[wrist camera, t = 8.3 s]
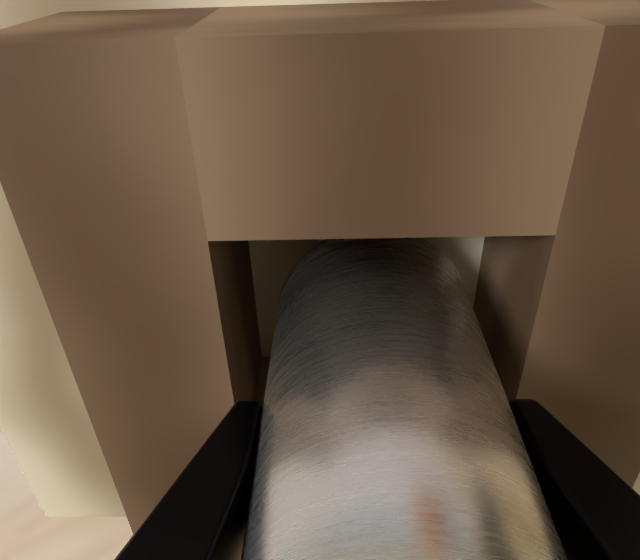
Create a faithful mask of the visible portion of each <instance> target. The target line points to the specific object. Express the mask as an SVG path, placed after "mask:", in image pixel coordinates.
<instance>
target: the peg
mask: <svg viewBox="0 0 640 560" xmlns="http://www.w3.org/2000/svg"><path fill="white" fill-rule="evenodd" d="M241 560H568V559H567V557H566V554H565V551H564V549H563V546H562V543H561V541H560V538H559V535H558V533H557V530H556V527H555V525H554V522H553V519H552V517H551V514H550V511H549V509H548V506H547V503H546V501H545V498H544V495H543V493H542V490H541V487H540V485H539V482H538V480H537V477H536V474H535V472H534V469H533V466H532V464H531V461H530V458H529V456H528V453H527V450H526V448H525V445H524V442H523V440H522V437H521V434H520V432H519V429H518V426H517V424H516V421H515V418H514V416H513V413H512V410H511V408H510V405H509V402H508V400H507V397H506V394H505V392H504V389H503V387H502V384H501V381H500V379H499V376H498V373H497V371H496V368H495V365H494V363H493V360H492V357H491V355H490V352H489V349H488V347H487V344H486V341H485V339H484V336H483V333H482V331H481V328H480V325H479V323H478V320H477V317H476V315H475V312H474V309H473V307H472V304H471V301H470V299H469V296H468V293H467V291H466V288H465V286H464V283H463V280H462V278H461V276H460V274H459V271H458V269H457V268H456V267H455V265H454V264H453V262H452V261H451V260H450V258H449V257H448V256H447V255H446V254H445V253H444V252H443V251H441V250H440V249H439V248H438V247H436V246H435V245H434V244H432V243H430V242H429V241H427V240H425V239H423V238H363V239H325V240H323V241H321V242H320V243H318V244H316V245H315V246H313V247H312V248H310V249H309V250H308V251H307V252H306V253H304V254H303V255H302V256H301V257H300V258H299V259H298V260H297V261H296V262H295V263H294V265H293V266H292V268H291V269H290V270H289V272H288V274H287V276H286V278H285V280H284V282H283V284H282V287H281V290H280V295H279V302H278V308H277V315H276V322H275V329H274V336H273V343H272V349H271V356H270V363H269V370H268V377H267V384H266V390H265V397H264V404H263V411H262V418H261V425H260V432H259V438H258V445H257V452H256V459H255V466H254V473H253V479H252V486H251V493H250V500H249V507H248V513H247V520H246V527H245V534H244V541H243V548H242V555H241Z"/></svg>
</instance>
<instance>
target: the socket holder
mask: <svg viewBox="0 0 640 560" xmlns="http://www.w3.org/2000/svg"><path fill="white" fill-rule="evenodd" d="M363 238H423V239H425V240H427V241H429V242H430V243H432V244H434V245H435V246H436V247H438V248H439V249H440V250H441V251H443V252H444V253H445V254H446V255H447V256H448V257H449V258H450V260H451V261H452V262H453V264H454V265H455V267H456V268H457V269H458V271H459V274H460V276H461V278H462V280H463V283H464V286H465V288H466V291H467V293H468V296H469V299H470V301H471V304H472V307H473V309H474V312H475V315H476V317H477V320H478V323H479V325H480V328H481V331H482V333H483V336H484V339H485V341H486V344H487V347H488V349H489V352H490V355H491V357H492V360H493V363H494V365H495V368H496V371H497V373H498V376H499V379H500V381H501V384H502V387H503V389H504V392H505V394H506V397H507V400H508V401H509V400H511V399H533V400H535V401H537V402H539V403H540V404H541V405H542V406H543V407H544V408H545V409H546V410H547V411H548V412H550V413H551V414H552V415H553V416H554V417H555V418H556V419H557V420H558V421H559V422H561V423H562V424H563V425H564V426H565V427H566V428H567V429H568V430H569V431H570V432H571V433H573V434H574V435H575V436H576V437H577V438H578V439H579V440H580V441H581V442H582V443H584V444H585V445H586V446H587V447H588V448H589V449H590V450H591V451H592V452H593V453H594V454H596V455H597V456H598V457H599V458H600V459H601V460H602V461H603V462H604V463H605V464H606V465H608V466H609V467H610V468H611V469H612V470H613V471H614V472H615V473H616V474H617V475H619V476H620V477H621V478H622V479H623V480H624V481H625V482H626V483H627V484H628V485H629V486H631V487H632V488H633V489H634V490H635V491H636V492H637V493H638V494H639V495H640V0H0V430H1V432H2V434H3V435H4V437H5V439H6V441H7V443H8V445H9V447H10V449H11V451H12V453H13V455H14V457H15V459H16V461H17V463H18V464H19V466H20V468H21V470H22V472H23V474H24V476H25V478H26V480H27V482H28V484H29V486H30V488H31V490H32V492H33V493H34V495H35V497H36V499H37V501H38V503H39V505H40V507H41V509H42V511H43V513H44V515H45V517H87V516H127V519H128V521H129V524H130V526H131V529H132V532H133V534H135V532H136V531H137V530H138V528H139V527H140V526H141V525H142V523H143V522H144V521H145V519H146V518H147V517H148V515H149V514H150V513H151V512H152V510H153V509H154V508H155V506H156V505H157V504H158V502H159V501H160V500H161V499H162V497H163V496H164V495H165V493H166V492H167V491H168V490H169V488H170V487H171V486H172V484H173V483H174V482H175V480H176V479H177V478H178V477H179V475H180V474H181V473H182V471H183V470H184V469H185V467H186V466H187V465H188V464H189V462H190V461H191V460H192V458H193V457H194V456H195V454H196V453H197V452H198V451H199V449H200V448H201V447H202V445H203V444H204V443H205V441H206V440H207V439H208V438H209V436H210V435H211V434H212V432H213V431H214V430H215V429H216V427H217V426H218V425H219V423H220V422H221V421H222V419H223V418H224V417H225V416H226V414H227V413H228V412H229V410H230V409H231V408H232V406H233V405H234V404H235V403H236V402H238V401H259V402H261V404H262V407H263V404H264V397H265V390H266V384H267V377H268V370H269V363H270V356H271V349H272V343H273V336H274V329H275V322H276V315H277V308H278V302H279V295H280V290H281V287H282V284H283V282H284V280H285V278H286V276H287V274H288V272H289V270H290V269H291V268H292V266H293V265H294V263H295V262H296V261H297V260H298V259H299V258H300V257H301V256H302V255H303V254H304V253H306V252H307V251H308V250H309V249H310V248H312V247H313V246H315V245H316V244H318V243H320V242H321V241H323V240H325V239H363Z"/></svg>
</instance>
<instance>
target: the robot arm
mask: <svg viewBox="0 0 640 560" xmlns="http://www.w3.org/2000/svg"><path fill="white" fill-rule="evenodd" d="M508 402H509V405H510V408H511V410H512V413H513V416H514V418H515V421H516V424H517V426H518V429H519V432H520V434H521V437H522V440H523V442H524V445H525V448H526V450H527V453H528V456H529V458H530V461H531V464H532V466H533V469H534V472H535V474H536V477H537V480H538V482H539V485H540V487H541V490H542V493H543V495H544V498H545V501H546V503H547V506H548V509H549V511H550V514H551V517H552V519H553V522H554V525H555V527H556V530H557V533H558V535H559V538H560V541H561V543H562V546H563V549H564V551H565V554H566V557H567V559H568V560H640V495H639V494H638V493H637V492H636V491H635V490H634V489H633V488H632V487H631V486H629V485H628V484H627V483H626V482H625V481H624V480H623V479H622V478H621V477H620V476H619V475H617V474H616V473H615V472H614V471H613V470H612V469H611V468H610V467H609V466H608V465H606V464H605V463H604V462H603V461H602V460H601V459H600V458H599V457H598V456H597V455H596V454H594V453H593V452H592V451H591V450H590V449H589V448H588V447H587V446H586V445H585V444H584V443H582V442H581V441H580V440H579V439H578V438H577V437H576V436H575V435H574V434H573V433H571V432H570V431H569V430H568V429H567V428H566V427H565V426H564V425H563V424H562V423H561V422H559V421H558V420H557V419H556V418H555V417H554V416H553V415H552V414H551V413H550V412H548V411H547V410H546V409H545V408H544V407H543V406H542V405H541V404H540V403H539V402H537V401H535V400H533V399H511V400H509V401H508ZM262 411H263V407H262V404H261V402H259V401H238V402H236V403H235V404H234V405H233V406H232V408H231V409H230V410H229V412H228V413H227V414H226V416H225V417H224V418H223V419H222V421H221V422H220V423H219V425H218V426H217V427H216V429H215V430H214V431H213V432H212V434H211V435H210V436H209V438H208V439H207V440H206V441H205V443H204V444H203V445H202V447H201V448H200V449H199V451H198V452H197V453H196V454H195V456H194V457H193V458H192V460H191V461H190V462H189V464H188V465H187V466H186V467H185V469H184V470H183V471H182V473H181V474H180V475H179V477H178V478H177V479H176V480H175V482H174V483H173V484H172V486H171V487H170V488H169V490H168V491H167V492H166V493H165V495H164V496H163V497H162V499H161V500H160V501H159V502H158V504H157V505H156V506H155V508H154V509H153V510H152V512H151V513H150V514H149V515H148V517H147V518H146V519H145V521H144V522H143V523H142V525H141V526H140V527H139V528H138V530H137V531H136V532H135V534H134V535H133V536H132V537H131V539H130V540H129V541H128V543H127V544H126V545H125V547H124V548H123V549H122V550H121V552H120V553H119V554H118V556H117V557H116V558H115V560H241V555H242V548H243V541H244V534H245V527H246V520H247V513H248V507H249V500H250V493H251V486H252V479H253V473H254V466H255V459H256V452H257V445H258V438H259V432H260V425H261V418H262Z"/></svg>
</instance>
